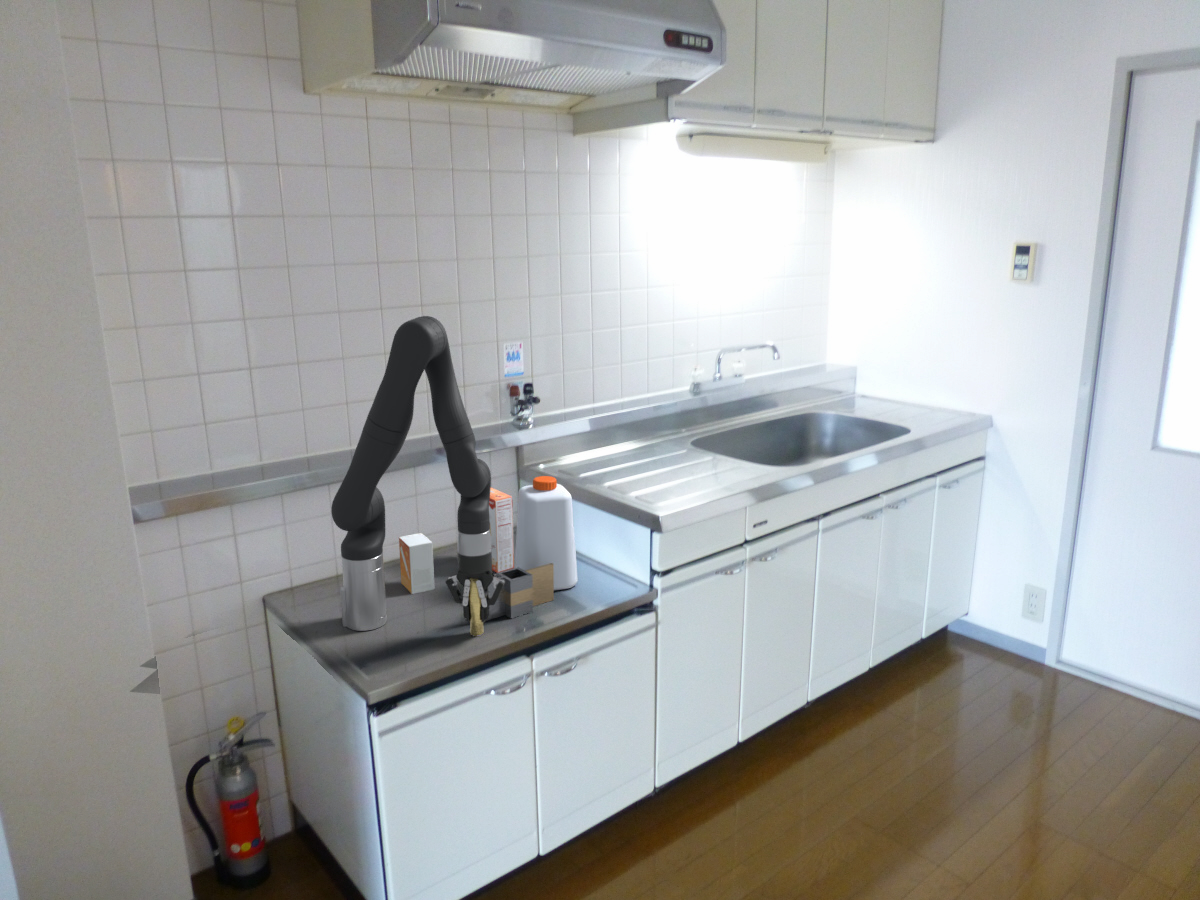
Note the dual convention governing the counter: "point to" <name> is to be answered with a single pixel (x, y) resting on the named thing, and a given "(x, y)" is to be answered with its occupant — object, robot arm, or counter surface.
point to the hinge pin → (475, 609)
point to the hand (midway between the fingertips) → (476, 619)
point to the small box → (416, 563)
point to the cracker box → (501, 530)
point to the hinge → (522, 591)
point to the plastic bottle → (546, 530)
